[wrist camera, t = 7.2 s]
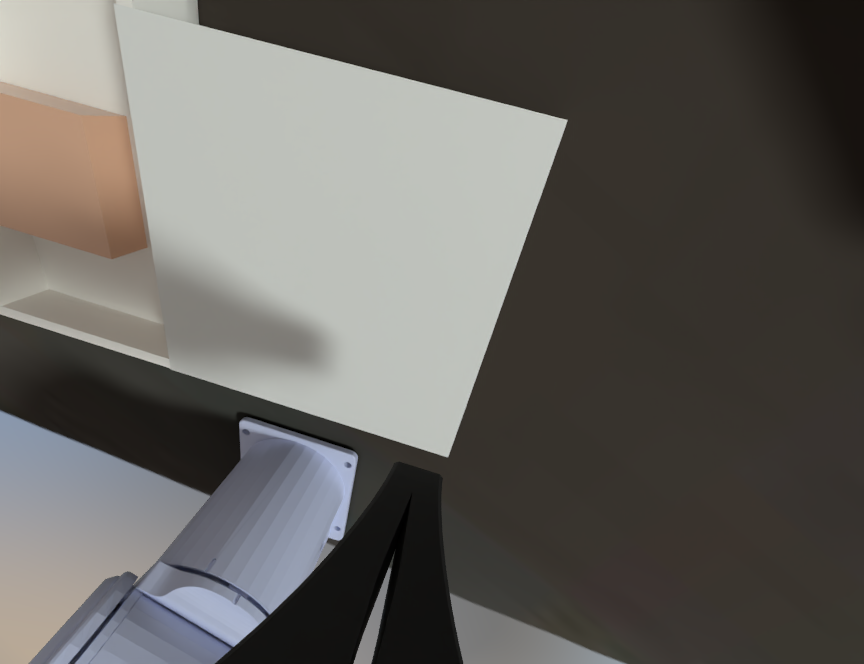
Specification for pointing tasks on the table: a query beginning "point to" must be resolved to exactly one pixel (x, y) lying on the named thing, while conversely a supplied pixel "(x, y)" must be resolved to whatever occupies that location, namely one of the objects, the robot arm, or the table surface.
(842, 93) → the table surface
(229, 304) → the board
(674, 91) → the table surface
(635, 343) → the table surface
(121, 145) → the tile
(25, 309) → the tray
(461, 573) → the table surface
